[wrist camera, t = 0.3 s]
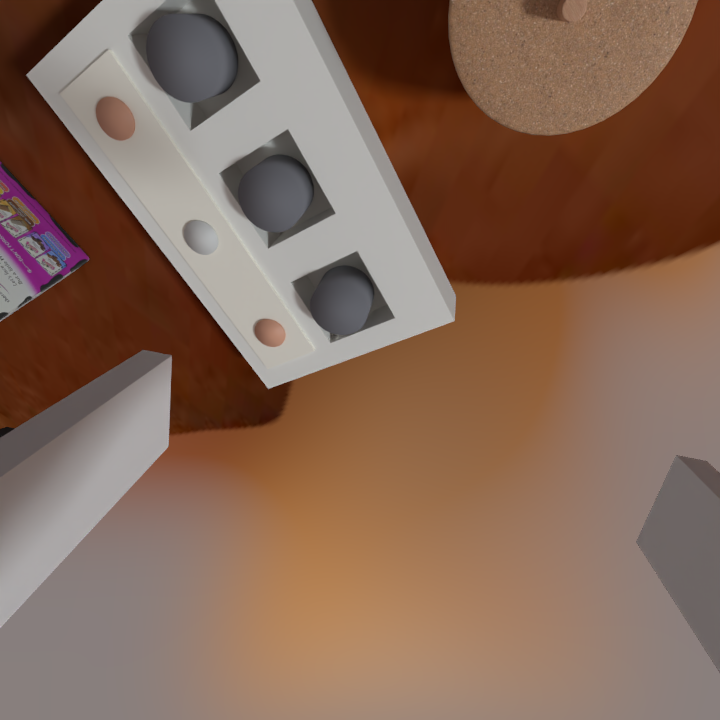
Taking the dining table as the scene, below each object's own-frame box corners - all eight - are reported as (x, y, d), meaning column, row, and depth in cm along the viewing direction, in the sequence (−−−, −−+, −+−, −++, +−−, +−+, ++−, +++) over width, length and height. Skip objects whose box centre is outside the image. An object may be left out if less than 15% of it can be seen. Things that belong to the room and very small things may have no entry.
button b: (291, 142, 32) (277, 152, 30) (325, 201, 34) (314, 215, 32) (242, 172, 34) (225, 185, 32) (277, 227, 36) (263, 242, 34)
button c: (357, 256, 36) (348, 273, 34) (384, 303, 38) (378, 323, 36) (309, 278, 38) (298, 296, 36) (337, 322, 40) (329, 342, 38)
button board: (258, -109, 27) (226, -127, 24) (455, 295, 40) (454, 324, 36) (66, 69, 35) (20, 75, 31) (282, 363, 47) (266, 392, 43)
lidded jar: (511, 147, 33) (523, 188, 25) (417, -5, 29) (398, -11, 21) (683, 23, 27) (763, 27, 20) (596, -184, 24) (654, -275, 16)
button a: (208, -4, 29) (184, -5, 26) (251, 72, 30) (233, 77, 28) (157, 40, 30) (130, 42, 28) (201, 109, 32) (180, 116, 30)
